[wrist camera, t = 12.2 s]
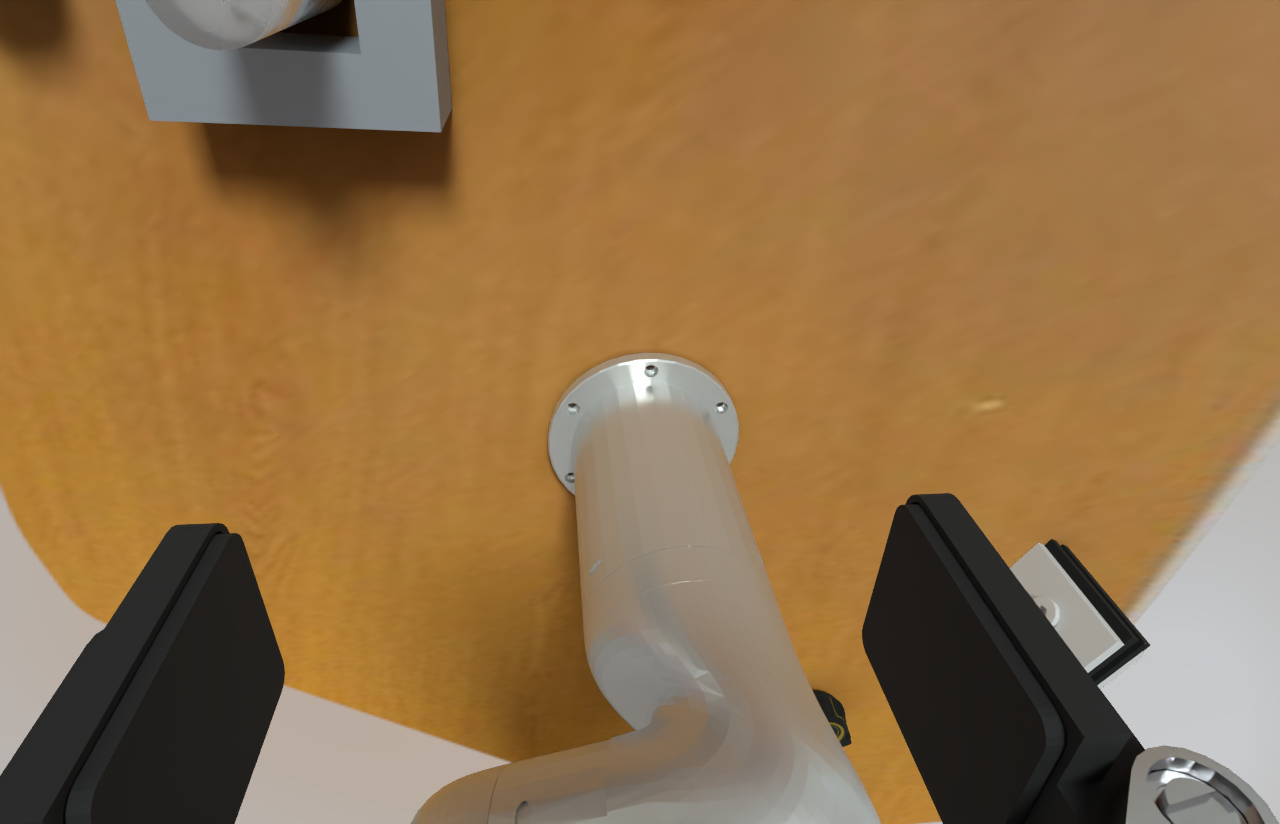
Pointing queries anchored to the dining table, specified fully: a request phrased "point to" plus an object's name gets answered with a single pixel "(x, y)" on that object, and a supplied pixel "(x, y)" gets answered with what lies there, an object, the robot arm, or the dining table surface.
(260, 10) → the steel pin
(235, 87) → the hole block
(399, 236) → the dining table surface
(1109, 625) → the hinge
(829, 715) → the tape measure
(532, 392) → the dining table surface
